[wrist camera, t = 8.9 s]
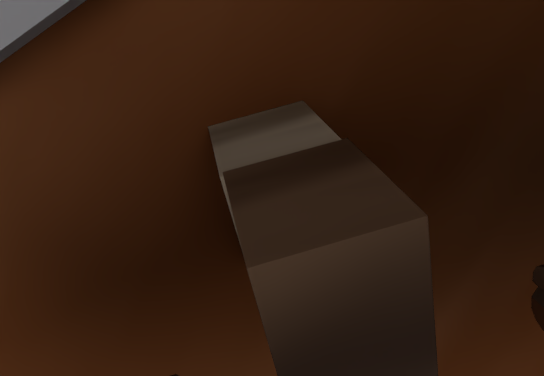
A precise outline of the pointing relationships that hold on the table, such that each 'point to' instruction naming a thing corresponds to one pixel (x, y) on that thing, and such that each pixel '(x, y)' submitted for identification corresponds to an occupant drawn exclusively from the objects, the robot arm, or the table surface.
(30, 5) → the grey block
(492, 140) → the table surface
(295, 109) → the maple block
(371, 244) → the walnut block
